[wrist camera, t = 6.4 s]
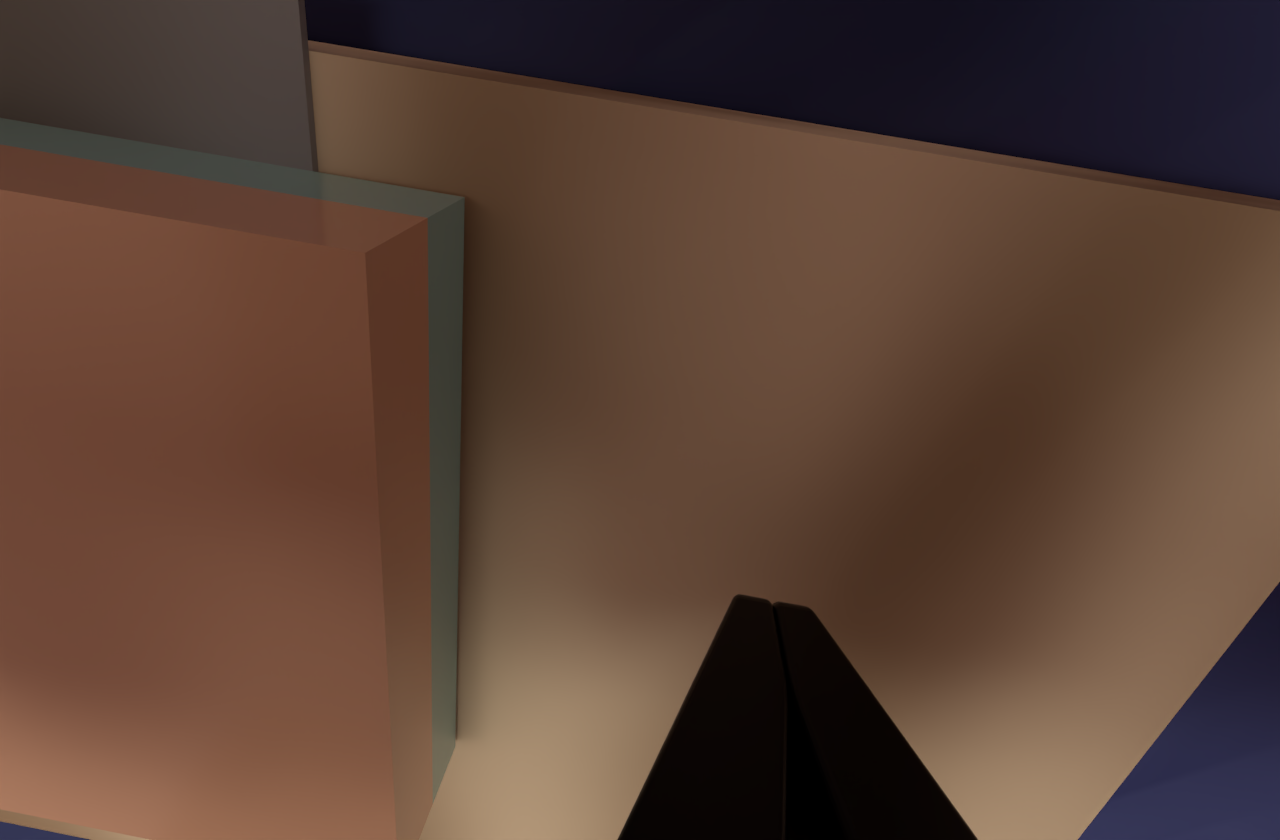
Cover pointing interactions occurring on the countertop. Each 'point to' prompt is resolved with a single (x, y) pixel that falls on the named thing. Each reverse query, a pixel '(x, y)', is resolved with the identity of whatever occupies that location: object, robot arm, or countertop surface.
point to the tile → (225, 492)
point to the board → (772, 406)
